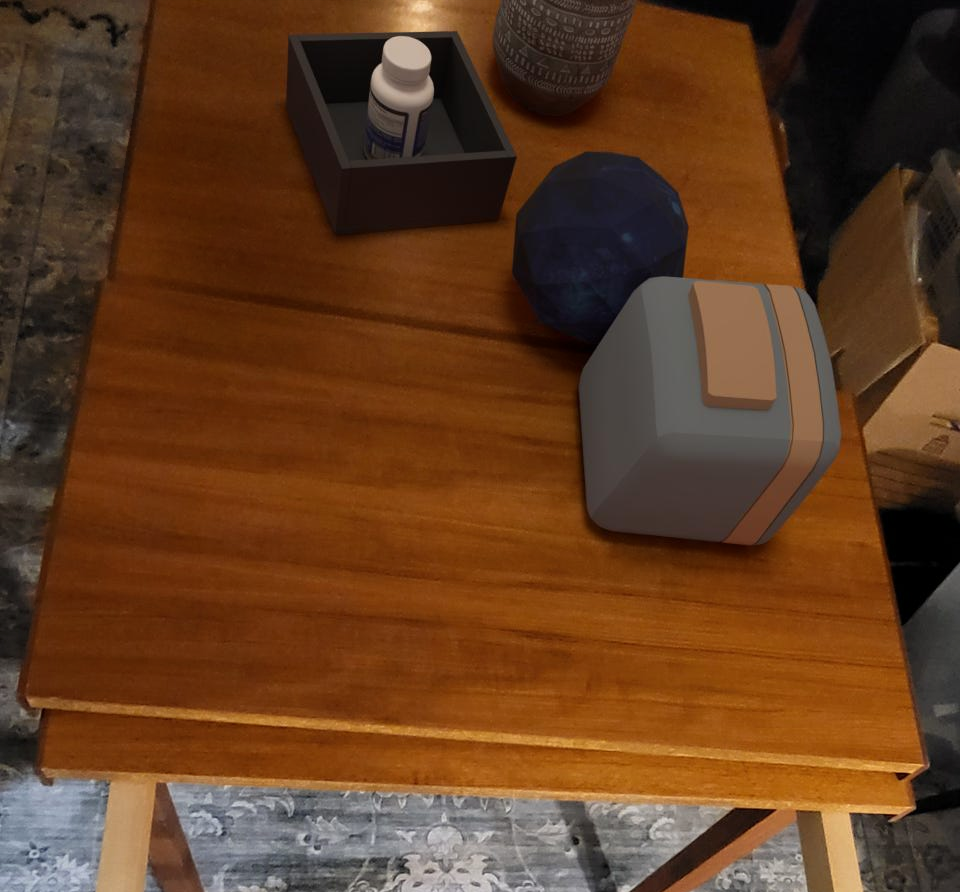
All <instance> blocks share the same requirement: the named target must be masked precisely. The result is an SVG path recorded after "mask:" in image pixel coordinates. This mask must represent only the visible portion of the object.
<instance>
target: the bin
mask: <svg viewBox="0 0 960 892" xmlns="http://www.w3.org/2000/svg"><path fill="white" fill-rule="evenodd" d="M397 36H406V37H411V38H414V39H416V40H418V41H420V42H422V43H423V44H424V45H425V46H426V47H427V48H428V49H429V51H430V53H431V65H430V72H429V76H430V78H431V80H432V82H433V86H434V95H433V102H432V108H431V113H430V119H429V125H428V130H427V136H426V142H425V147H424V153H423V156H416V157H401V158H385V159H370V160H368V159H367V158H366V156H365V153H364V138H365V129H366V121H367V112H368V103H369V93H370V85H371V78H372V74H373V72H374V70H375V69H376V67H377V66H378V65H380V64H381V63H382V55H383V48H384V45H385V43H386V42H387V41H388V40H389V39H391V38H393V37H397ZM287 39H288V40H287V43H288V44H287V62H286V63H287V64H286V65H287V67H286V92H285V95H286V96H285V108H286V111H287V114H288V116H289V119H290V122H291V125H292V127H293V129H294V132H295V135H296V137H297V139H298V143H299V145H300V147H301V150H302V153H303V155H304V158H305V160H306V163H307V166H308V168H309V171H310V173H311V176H312V178H313V181H314V184H315V187H316V189H317V191H318V194H319V196H320V197H319V198H320V199H321V202H322V205H323V207H324V210H325V212H326V215H327V218H328V220H329V223H330V225H331V229H332V231H333V233H334V235H335V236H344V235H353V234H355V235H356V234H365V233H367V234H368V233H375V232H376V233H377V232H386V231H387V232H388V231H396V230H398V231H399V230H408V229H420V228H421V229H422V228H430V227H439V226H440V227H441V226H442V227H443V226H451V225H452V226H453V225H462V224H463V225H465V224H474V223H475V224H476V223H485V222H496V221H499V220H500V217H501V213H502V211H503V210H502V209H503V206H504V203H505V198H506V195H507V192H508V189H509V186H510V181H511V179H512V175H513V171H514V168H515V165H516V161H517V158H518V155H517V154H516V151H515V150H514V148H513V145H512V143H511V141H510V139H509V137H508V134H507V132H506V131H505V128H504V126H503V124H502V122H501V120H500V118H499V116H498V113H497V112H496V110H495V107H494V106H493V103H492V101H491V99H490V97H489V95H488V93H487V91H486V88H485V87H484V85H483V82H482V80H481V77H480V76H479V74H478V72H477V70H476V67H475V65H474V64H473V60H472V59H471V57H470V55H469V52H468V50H467V49H466V47H465V44H464V42H463V40H462V39H461V36H460V34H459V32H458V31H457V30H439V31H437V30H436V31H393V32H391V31H390V32H385V31H384V32H348V33H347V32H346V33H345V32H344V33H301V34H299V33H298V34H296V33H295V34H288V36H287Z"/></svg>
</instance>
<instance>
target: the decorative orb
mask: <svg viewBox="0 0 960 892" xmlns="http://www.w3.org/2000/svg"><path fill="white" fill-rule="evenodd" d="M515 214H516V215H515V224H514V225H515V227H514V237H513V238H514V240H513V250H512V251H513V253H512V266H511V274H512V277H513V278H514V280H515V282H516V283H517V285H518V287H519V289H520V290H521V292H522V294H523V295H524V297H525V299H526V301H527V302H528V304H529V306H530V307H531V310H532V311H533V313H534V315H535V316H536V318H537V320H538V322H539V323H540V324H541V325H544V326H546V327H549V328H551V329H553V330H556V331H557V332H560V333H562V334H565V335H567V336H569V337H572V338H574V339H576V340H579V341H581V342H584V343H585V344H588V345H595V344H599V343H600V342H601V340H602V339H603V337H604V336H605V334H606V333H607V331H608V330H609V328H610V327H611V325H612V324H613V322H614V320H615V319H616V317H617V316H618V314H619V313H620V311H621V310H622V308H623V307H624V305H625V304H626V302H627V301H628V299H629V298H630V296H631V295H632V293H633V291H635V290H636V289H637V288H638V287H639V286H640V285H641V284H642V283H644V282H645V281H646V280H648V279H649V278H654V277H661V276H663V277H678V278H684V272H685V263H686V255H687V247H688V237H689V229H690V228H689V227H690V226H689V223H688V220H687V216H686V213H685V210H684V206H683V204H682V200H681V197H680V193H679V192H678V191H677V190H676V189H675V187H674V186H673V185H671V183H670V182H668V180H667V179H666V178H664V176H663V175H662V174H661V173H659V172H658V171H657V170H655V169H654V168H653V167H651V166H650V165H649V164H648V163H647V162H645V161H644V160H642V159H641V157H639V156H634V155H630V154H629V155H628V154H623V153H619V152H613V151H596V150H595V151H591V150H586V151H583V152H581V153H580V154H577V155H575V156H573V157H571V158H569V159H567V160H565V161H563V162H560V163H558V164H556V165H554V166H553V167H552V168H551V169H550V171H548V173H547V174H546V176H545V177H544V178H543V179H542V180H541V182H540V183H539V185H538V186H537V187H536V188H535V189H534V191H533V192H532V193H531V194H530V195H529V197H528V199H527V200H526V201H525V202H524V203H523V205H522V206H521V207H520V208H519V209H518V211H517V212H516V213H515Z"/></svg>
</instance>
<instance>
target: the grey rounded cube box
mask: <svg viewBox="0 0 960 892" xmlns="http://www.w3.org/2000/svg"><path fill="white" fill-rule="evenodd" d="M833 370H834V369H833V363H832V360H831V356H830V352H829V348H828V345H827V341H826V336H825V333H824V329H823V326H822V324H821V320H820V316H819V314H818V310H817V307H816V304H815V303H814V301H813V299H812V298H811V296H810V295H809V293H807V291H806V290H804V289H802V288H799V287H797V286H792V285H786V284H785V285H783V284H770V283H757V282H744V281H730V280H719V279H718V280H715V279H703V278H691V277H683V278H678V277H663V276H661V277H654V278H649V279H648V280H646V281H645V282H644V283H642V284H641V285H640V286H639V287H638V288H637V289H636V290H635V291H633V293H632V295H631V296H630V298H629V299H628V301H627V302H626V304H625V305H624V307H623V308H622V310H621V311H620V313H619V314H618V316H617V317H616V319H615V320H614V322H613V324H612V325H611V327H610V328H609V330H608V331H607V333H606V334H605V336H604V337H603V339H602V340H601V342H600V343H598V345H597V346H596V348H595V350H594V351H593V352H592V354H591V355H590V357H589V359H588V360H587V362H586V363H585V365H584V367H583V368H582V371H581V374H580V377H579V383H578V396H579V397H578V398H579V409H580V426H581V439H582V441H581V442H582V454H583V455H582V456H583V457H582V458H583V470H584V483H585V484H584V485H585V486H584V487H585V499H586V501H585V502H586V509H587V513H588V515H589V517H590V519H591V520H592V521H593V522H594V524H595V525H597V526H598V527H599V528H602V529H604V530H608V531H609V532H610V531H611V532H618V533H627V534H637V535H647V536H656V537H666V538H667V537H668V538H676V539H684V540H685V539H686V540H695V541H705V542H715V543H720V542H721V543H724V544H734V545H742V546H743V545H744V546H757V545H764V544H765V543H766V542H768V541H770V540H771V539H772V538H773V537H774V536H775V535H776V534H777V533H778V531H779V530H780V529H782V527H783V526H784V525H785V524H786V522H787V521H788V520H789V519H790V517H791V516H792V515H793V514H794V513H795V512H796V510H798V508H799V507H800V506H801V505H802V503H803V502H804V501H805V500H806V498H807V497H808V496H809V494H810V493H811V492H812V491H813V490H814V488H815V487H816V486H817V484H818V483H819V481H820V480H821V479H822V478H823V476H824V475H825V474H826V473H827V471H828V470H829V468H830V467H831V466H832V465H833V463H834V462H835V460H836V459H837V456H838V453H839V450H840V447H841V440H842V430H841V429H842V428H841V421H840V413H839V403H838V398H837V390H836V384H835V377H834V371H833Z"/></svg>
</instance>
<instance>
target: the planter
mask: <svg viewBox="0 0 960 892" xmlns="http://www.w3.org/2000/svg"><path fill="white" fill-rule="evenodd" d="M637 1H638V0H500V2H499V6H498V9H497V13H496V14H497V15H496V17H495V22H494V26H493V30H492V31H493V32H492V41H491V42H492V48H493V52H494V57H495V60H496V64H497V68H498V71H499V74H500V77H501V79H502V82H503V84H504V87H505V89H506V91H507V92H508V93H509V96H511V97H512V99H514V101H515V102H516V103H518V104H519V105H521V106H522V107H524V108H526V109H527V110H529V111H532V112H534V113H537V114H540V115H545V116H554V117H557V116H564V115H568V114H570V113H572V112H574V111H575V110H577V109H579V108H580V107H581V106H583V105H585V103H587V102H588V101H590V100H591V99H592V98H593V97H594V96H595V95H597V94H598V93H599V92H600V91H601V90H602V89H603V88H604V87H605V86H606V85H607V83H608V82H609V80H610V78H611V76H612V73H613V70H614V67H615V65H616V62H617V59H618V57H619V54H620V51H621V47H622V43H623V41H624V38H625V36H626V33H627V30H628V27H629V25H630V22H631V19H632V17H633V14H634V12H635V8H636V5H637Z"/></svg>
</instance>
